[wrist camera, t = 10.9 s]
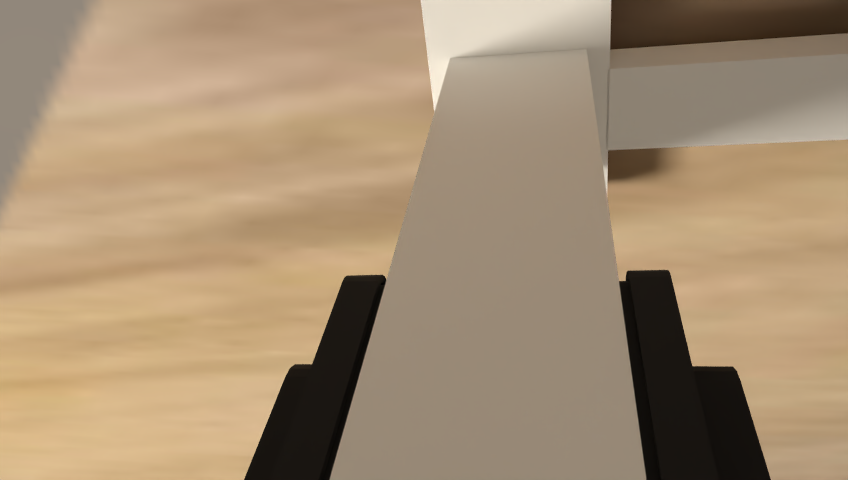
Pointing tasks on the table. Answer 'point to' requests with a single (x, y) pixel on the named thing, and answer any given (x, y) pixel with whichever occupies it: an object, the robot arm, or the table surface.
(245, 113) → the table surface
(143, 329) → the table surface
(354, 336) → the robot arm
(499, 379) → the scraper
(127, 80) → the table surface
